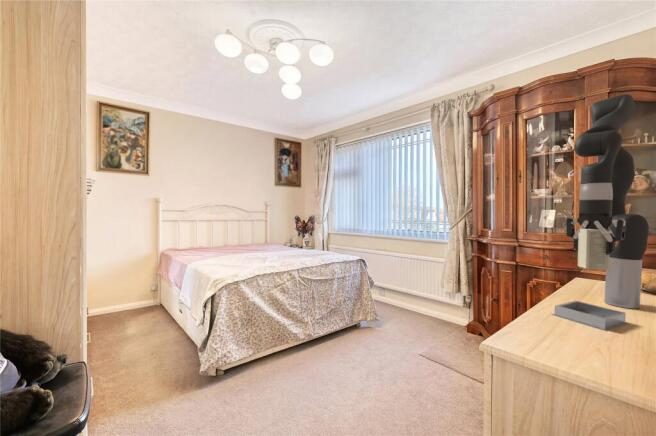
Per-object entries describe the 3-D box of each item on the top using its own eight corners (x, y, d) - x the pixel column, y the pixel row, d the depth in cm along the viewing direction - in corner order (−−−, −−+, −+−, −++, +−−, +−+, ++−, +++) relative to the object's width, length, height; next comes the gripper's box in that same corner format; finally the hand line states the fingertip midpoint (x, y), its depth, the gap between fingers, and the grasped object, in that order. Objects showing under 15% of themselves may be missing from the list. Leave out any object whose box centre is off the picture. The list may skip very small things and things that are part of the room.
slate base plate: (573, 310, 101) (573, 308, 101) (629, 325, 88) (629, 323, 88) (550, 316, 95) (550, 314, 95) (606, 334, 82) (606, 331, 82)
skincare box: (599, 267, 92) (600, 228, 92) (610, 270, 88) (611, 229, 88) (576, 266, 94) (577, 228, 93) (585, 269, 89) (587, 229, 89)
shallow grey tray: (575, 309, 100) (575, 300, 100) (625, 322, 89) (625, 312, 89) (554, 314, 95) (554, 305, 94) (604, 329, 83) (605, 319, 83)
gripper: (561, 199, 95) (559, 250, 95) (621, 197, 82) (618, 257, 83) (573, 199, 98) (572, 248, 99) (632, 198, 85) (630, 255, 86)
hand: (593, 252), depth 91 cm, fingers closed on skincare box, 7 cm apart
